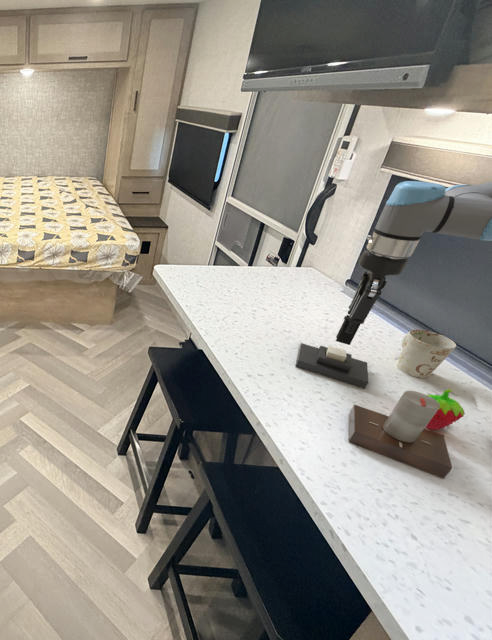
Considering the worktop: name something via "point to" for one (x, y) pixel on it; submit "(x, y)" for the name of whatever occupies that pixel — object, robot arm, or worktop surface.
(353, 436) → the volume box
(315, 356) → the ridged dark grey block
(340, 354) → the cream square block
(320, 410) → the worktop surface
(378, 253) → the robot arm
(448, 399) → the strawberry
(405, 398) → the volume knob
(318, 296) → the worktop surface
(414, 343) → the mug
